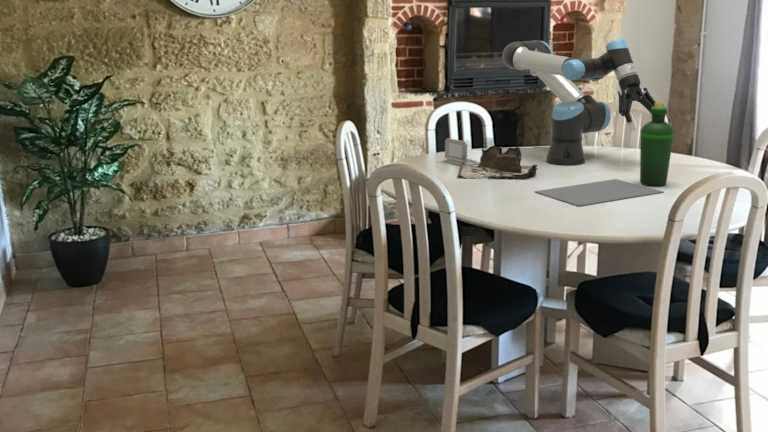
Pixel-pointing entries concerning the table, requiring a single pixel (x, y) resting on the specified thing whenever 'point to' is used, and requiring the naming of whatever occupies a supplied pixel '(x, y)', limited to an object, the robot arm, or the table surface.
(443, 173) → the table surface
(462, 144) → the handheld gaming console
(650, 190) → the mat
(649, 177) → the bottle
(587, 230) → the table surface
